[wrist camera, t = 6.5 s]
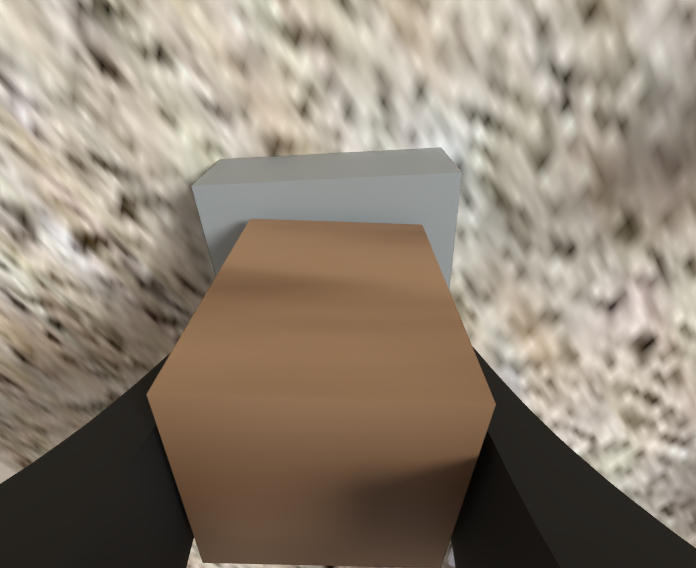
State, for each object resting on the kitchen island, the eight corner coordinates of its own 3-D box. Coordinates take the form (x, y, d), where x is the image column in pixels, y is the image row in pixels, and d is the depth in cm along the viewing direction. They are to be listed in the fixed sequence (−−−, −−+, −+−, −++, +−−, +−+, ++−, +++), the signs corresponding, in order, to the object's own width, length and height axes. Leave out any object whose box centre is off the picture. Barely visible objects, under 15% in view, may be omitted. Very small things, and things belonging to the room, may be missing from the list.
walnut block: (403, 354, 12) (440, 567, 7) (263, 350, 12) (202, 562, 7) (422, 224, 10) (496, 405, 5) (250, 218, 10) (146, 395, 5)
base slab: (426, 318, 16) (440, 371, 14) (260, 325, 16) (243, 377, 14) (439, 145, 12) (461, 172, 10) (223, 156, 13) (191, 185, 10)
